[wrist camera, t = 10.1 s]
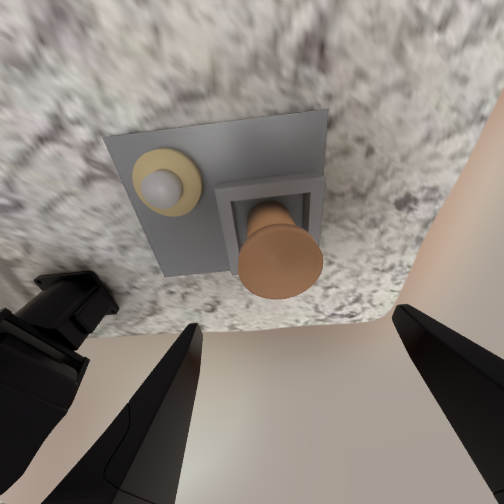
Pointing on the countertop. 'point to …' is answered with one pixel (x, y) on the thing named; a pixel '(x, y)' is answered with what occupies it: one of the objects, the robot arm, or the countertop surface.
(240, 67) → the countertop surface
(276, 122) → the housing
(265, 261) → the tan flared peg
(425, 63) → the countertop surface
